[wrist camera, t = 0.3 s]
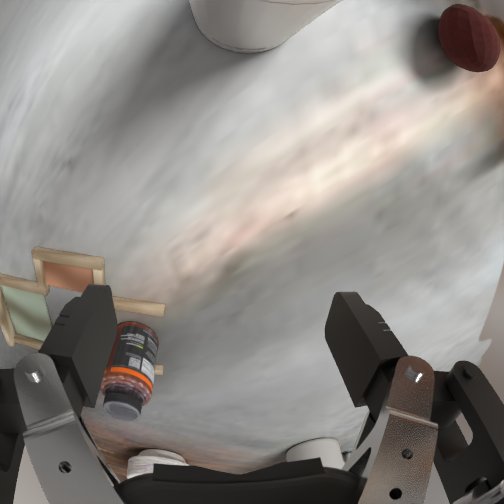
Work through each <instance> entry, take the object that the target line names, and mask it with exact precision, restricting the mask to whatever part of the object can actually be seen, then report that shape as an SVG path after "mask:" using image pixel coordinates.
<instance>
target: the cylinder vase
mask: <svg viewBox="0 0 504 504" xmlns="http://www.w3.org/2000/svg"><path fill="white" fill-rule="evenodd" d="M318 457H320V458H321V461H322V465H323V466H325V467H332V468H337V469H341V470H342V468H343V466H344V465H345V464H344V461H343V457H342V454H341V451H340V448H339V444H338V442H337V441H336V440H335V439H332V438H319V439H314V440H309V441H306V442H303V443H300V444H298V445H296V446H294V447H292V448H291V449H290V450H288V452H287V453H286V460H287V462H291V461H298V460H305V459H312V458H318Z"/></svg>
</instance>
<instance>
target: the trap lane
mask: <svg viewBox="0 0 504 504" xmlns="http://www.w3.org/2000/svg"><path fill="white" fill-rule="evenodd" d="M32 257H33V263H34V268H35V273H36V278H37V282H35V281H30V280H26V279H21V278H17V277H13V276H8V275H4V274H0V285H1V286H0V327H1V329H2V332H3V334H4V336H5V339H6V341H7V344H8V345H9V346H12V347H13V346H14V344H15V342H16V343H19V344H22V345H25V346H28V347H32V348H35V349H38V350H40V348H41V346H42V344H43V343H44V341H45V339H46V337H47V335H48V334H49V332H50V330H51V328H52V323H51V320H50V316H49V312H48V308H47V304H46V300H45V296H47V294H48V293H49V291H50V290H49V286H53V287H58V288H63V289H68V290H73V291H79V292H84V290H85V289H86V287H87V286H88V285H89V284H97V285H105V271H104V258H103V257H96V256H90V255H83V254H77V253H71V252H64V251H58V250H52V249H46V248H40V247H35V248H34V249H33V250H32ZM1 287H2V290H3V293H2V290H1ZM3 294H4V297H5V300H6V303H7V306H6V303H5V300H4V297H3ZM112 298H113V303H114V309H116V310H122V311H128V312H135V313H141V314H148V315H155V316H162V317H164V312H165V304H159V303H152V302H145V301H138V300H132V299H126V298H119V297H113V296H112ZM7 307H8V309H7ZM8 310H9V312H8ZM9 313H10V315H9ZM10 316H11V318H12V321H13V324H14V326H13V324H12V321H11V318H10ZM14 327H15V329H14ZM15 330H16V332H17V333H18V334H16V332H15ZM20 334H21V335H20ZM23 335H25V336H23ZM26 336H28V337H26ZM30 337H31V338H30ZM33 338H35V339H33ZM36 339H38V340H36ZM40 340H42V341H40ZM154 374H157V375H163V365H157V364H156V366H155V373H154Z"/></svg>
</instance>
